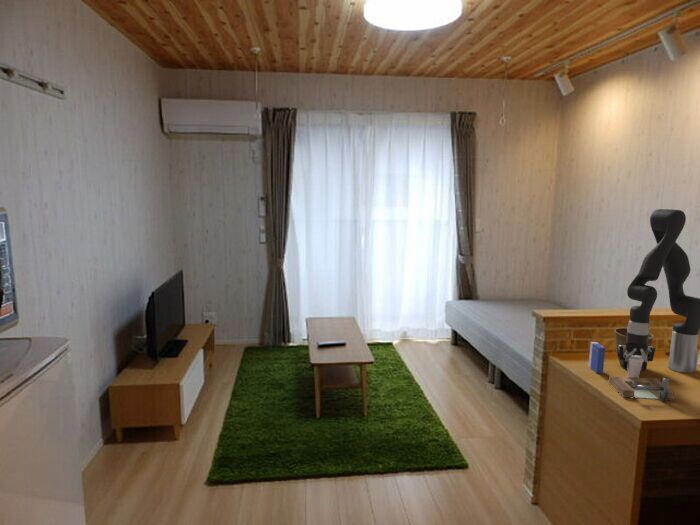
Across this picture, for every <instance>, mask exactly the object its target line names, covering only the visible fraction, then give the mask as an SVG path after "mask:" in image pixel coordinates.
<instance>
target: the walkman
mask: <svg viewBox="0 0 700 525" xmlns="http://www.w3.org/2000/svg"><path fill="white" fill-rule="evenodd" d="M605 353H606V348H605V347H604V345H601V344H600V343H599V342H597V341H596V342H595V341H590V345H589V355H588V356H589V357H588V368H589V369H591V371H593V372H594V373H596V374H603V373H604V364H605V357H606V355H605Z"/></svg>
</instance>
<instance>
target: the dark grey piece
mask: <svg viewBox="0 0 700 525" xmlns="http://www.w3.org/2000/svg"><path fill="white" fill-rule="evenodd" d="M661 381H662V382H661V383H662V386H643V385H637V382H635V381H632V388H633V389H637V390H656V391H661V397H660V400H659V401H660V402H662V403H667V401H668V400H667V393H668V388H669V384H670V379H669V378H667V377H662V380H661Z"/></svg>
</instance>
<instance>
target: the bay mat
mask: <svg viewBox="0 0 700 525" xmlns="http://www.w3.org/2000/svg"><path fill="white" fill-rule="evenodd" d="M632 389H633V388H632ZM633 390H634V391H635V392H634V397H635V398H634V399H645V398H646V400H647V399H648V400H649V399H650V400H659V399H658V398H657V397H656V396H655V395H654V394H653V393H651V392H650V391H649V390H637V389H633Z"/></svg>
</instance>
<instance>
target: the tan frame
mask: <svg viewBox="0 0 700 525" xmlns="http://www.w3.org/2000/svg"><path fill="white" fill-rule="evenodd" d="M632 381H635V382H637V385H643V386H662V382H661V381H660V380H659V379H658V378H650V377H649V378H647V377H646V378H645V377H639V378H631V377H628V376H625V377H624V376H612V375H611V376H609V378H608V384H609V383H610V384H609V385H610V386H611V385H612V386H613V387H614V388H615V389H616V390H617V391H618V392H619V393H620V394H621V395H622V396H621V395H620V394H619V393H618V392H617V391H616V390H615V389H614V388H613V387H612V386H611V387H612V388H613V389H614V390H615V391H616V392H617V393H618V394H619V395H620V396H621V397H622V398H624V397H633V398H632V399H635V398H634V392H635V391H634V390H633V389H632ZM649 391H650V392H651V393H653V394H654V395H655V396H656V397H657V398H658V399H657V400H659V401H660V397H661V391H656V390H649ZM674 396H675V392H673V390H672V389H670V387H668V393H667V401H674V400H675V397H674Z"/></svg>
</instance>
